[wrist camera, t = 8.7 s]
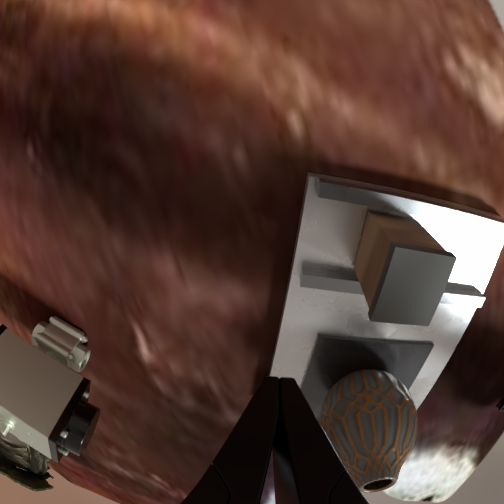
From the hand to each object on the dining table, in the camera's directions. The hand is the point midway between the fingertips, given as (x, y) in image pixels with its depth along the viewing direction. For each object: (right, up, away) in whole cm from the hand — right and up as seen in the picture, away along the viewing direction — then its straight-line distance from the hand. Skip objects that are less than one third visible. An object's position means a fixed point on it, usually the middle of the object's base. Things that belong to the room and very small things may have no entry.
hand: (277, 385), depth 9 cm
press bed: (+8, -1, +13) cm, 15 cm away
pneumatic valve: (-17, -4, +17) cm, 24 cm away
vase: (+8, -6, +14) cm, 17 cm away
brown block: (+7, +4, +9) cm, 12 cm away
